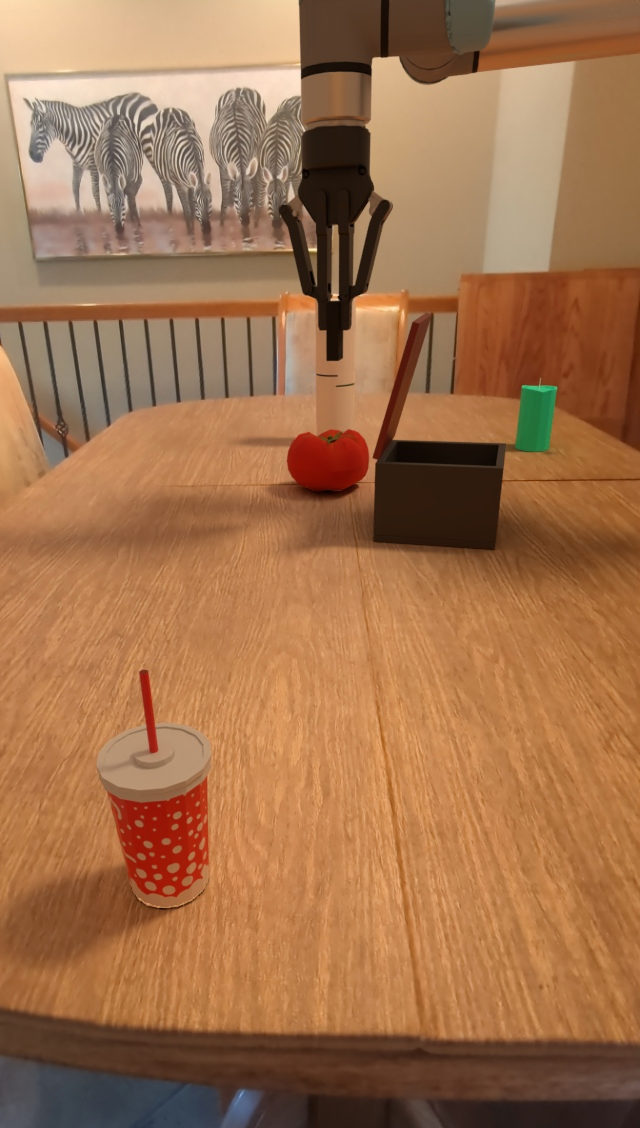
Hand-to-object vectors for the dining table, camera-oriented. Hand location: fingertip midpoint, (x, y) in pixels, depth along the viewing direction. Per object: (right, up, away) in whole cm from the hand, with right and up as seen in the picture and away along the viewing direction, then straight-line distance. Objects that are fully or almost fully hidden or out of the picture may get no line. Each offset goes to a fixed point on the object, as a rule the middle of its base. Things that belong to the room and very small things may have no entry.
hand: (334, 359), depth 92 cm
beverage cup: (-13, -49, -48) cm, 69 cm away
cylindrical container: (+4, +3, +52) cm, 52 cm away
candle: (+39, 0, +44) cm, 58 cm away
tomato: (+1, -11, +24) cm, 27 cm away
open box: (+14, -20, +6) cm, 25 cm away
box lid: (+9, -4, -1) cm, 9 cm away
